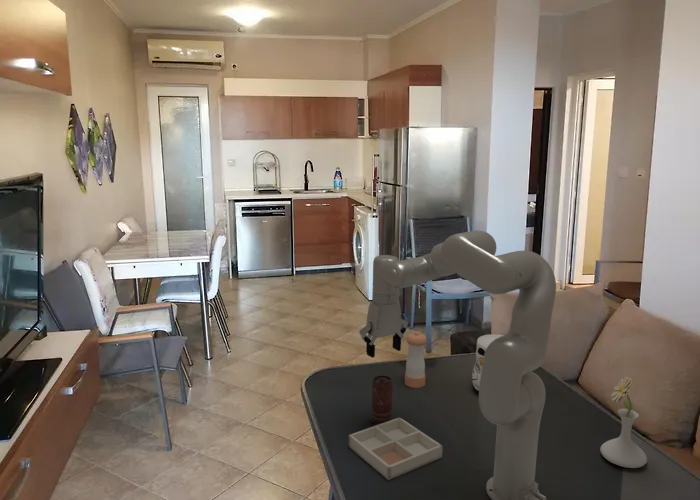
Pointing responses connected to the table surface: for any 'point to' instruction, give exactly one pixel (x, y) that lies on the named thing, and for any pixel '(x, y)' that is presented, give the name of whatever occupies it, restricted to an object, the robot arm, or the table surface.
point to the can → (381, 399)
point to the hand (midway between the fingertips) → (383, 352)
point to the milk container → (481, 357)
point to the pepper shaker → (415, 361)
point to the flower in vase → (624, 433)
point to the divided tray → (395, 447)
